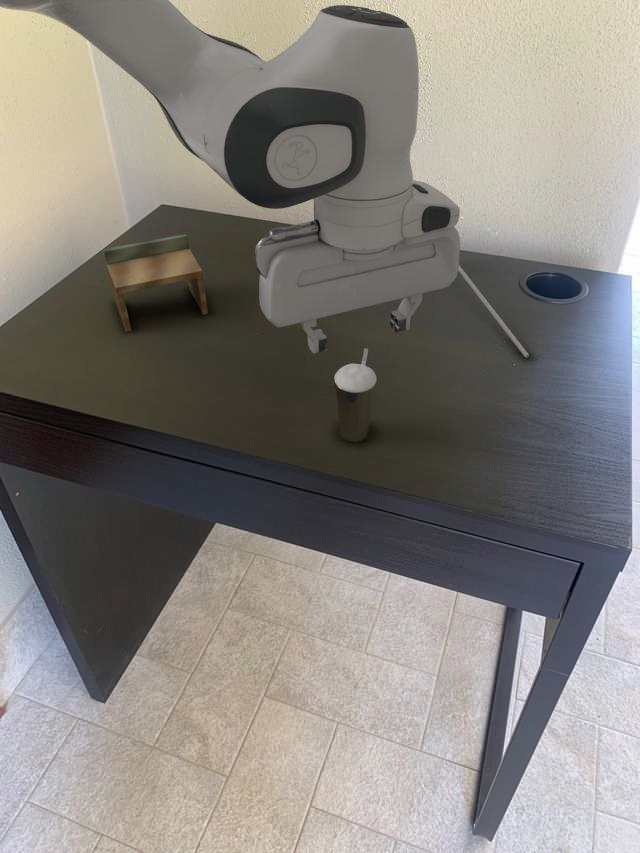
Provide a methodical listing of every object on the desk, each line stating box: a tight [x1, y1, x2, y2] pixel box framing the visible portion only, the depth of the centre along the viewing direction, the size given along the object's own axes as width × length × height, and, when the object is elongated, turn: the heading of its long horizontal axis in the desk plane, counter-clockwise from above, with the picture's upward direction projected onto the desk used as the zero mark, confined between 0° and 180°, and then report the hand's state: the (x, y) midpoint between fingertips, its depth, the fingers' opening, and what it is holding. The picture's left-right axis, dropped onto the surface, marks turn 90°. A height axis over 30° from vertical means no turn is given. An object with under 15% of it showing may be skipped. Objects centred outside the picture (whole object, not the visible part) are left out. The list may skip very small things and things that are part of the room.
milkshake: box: [333, 347, 377, 443], centre depth 77 cm, size 5×5×10 cm
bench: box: [102, 233, 209, 333], centre depth 98 cm, size 12×8×9 cm, turn 112°
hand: (359, 338), depth 71 cm, fingers open, 8 cm apart
